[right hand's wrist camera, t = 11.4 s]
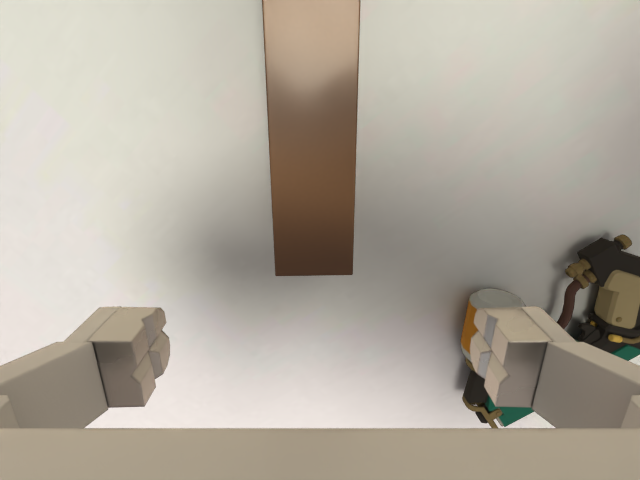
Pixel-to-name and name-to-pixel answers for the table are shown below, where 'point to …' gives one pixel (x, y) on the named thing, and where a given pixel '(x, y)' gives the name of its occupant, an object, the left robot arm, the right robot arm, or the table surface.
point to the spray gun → (603, 332)
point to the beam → (312, 132)
